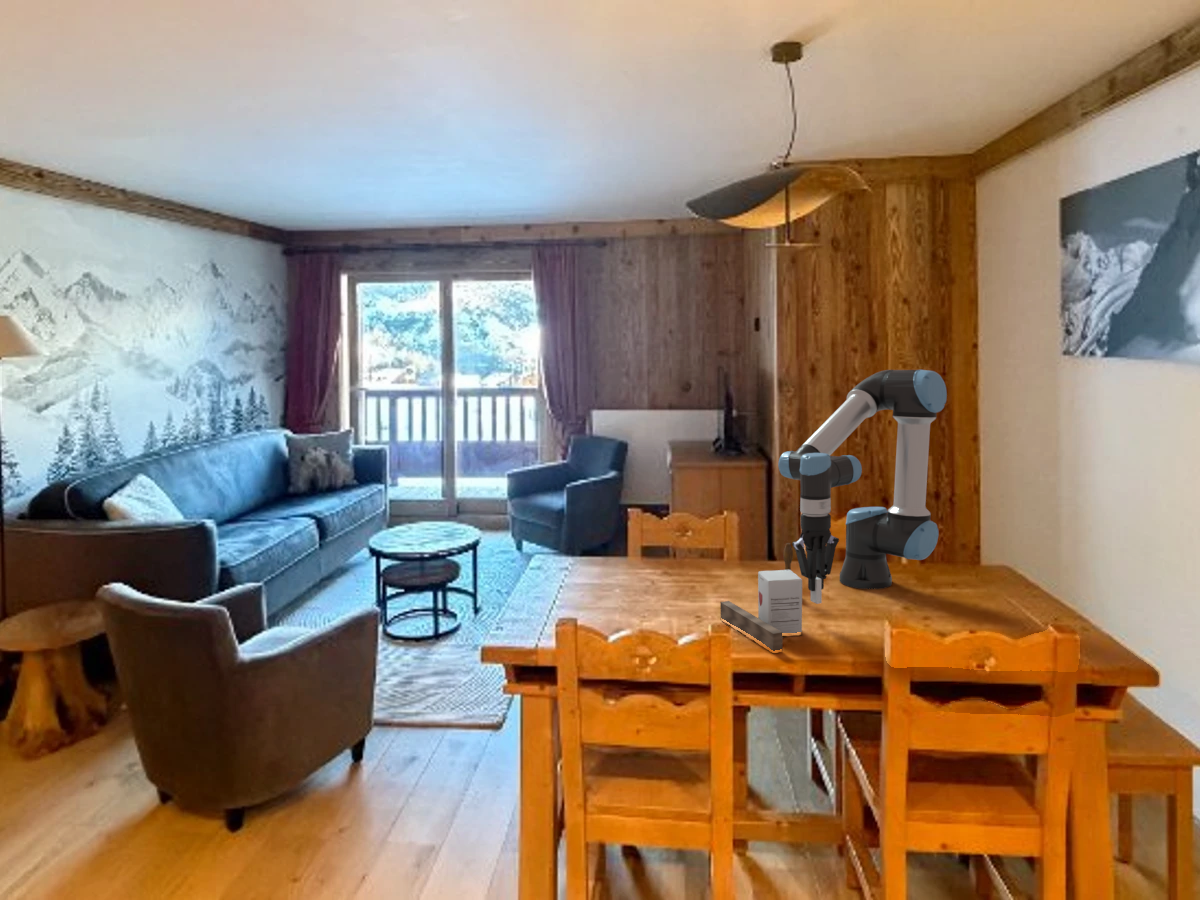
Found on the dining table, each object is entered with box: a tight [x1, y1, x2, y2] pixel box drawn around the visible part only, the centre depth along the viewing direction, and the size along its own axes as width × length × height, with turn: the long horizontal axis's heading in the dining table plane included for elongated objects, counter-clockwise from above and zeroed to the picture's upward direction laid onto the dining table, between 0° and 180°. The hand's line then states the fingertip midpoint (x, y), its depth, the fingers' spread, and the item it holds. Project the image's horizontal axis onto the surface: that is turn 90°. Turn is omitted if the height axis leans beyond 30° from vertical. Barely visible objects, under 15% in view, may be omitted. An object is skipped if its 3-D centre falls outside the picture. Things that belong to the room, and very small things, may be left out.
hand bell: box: [783, 542, 794, 571], centre depth 231 cm, size 8×8×16 cm
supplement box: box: [757, 569, 803, 633], centre depth 204 cm, size 9×9×15 cm
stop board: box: [720, 600, 783, 651], centre depth 202 cm, size 26×2×5 cm, turn 20°
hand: (816, 601), depth 208 cm, fingers closed
